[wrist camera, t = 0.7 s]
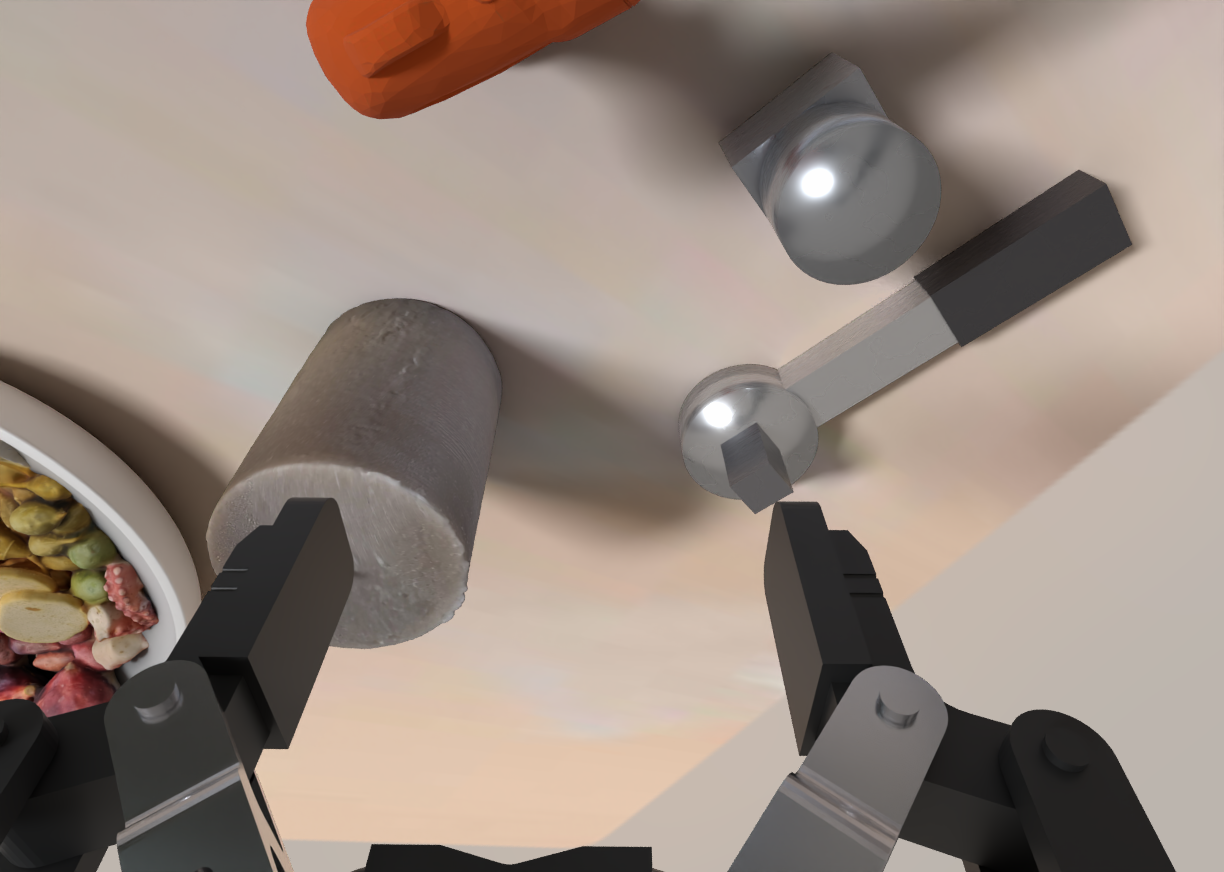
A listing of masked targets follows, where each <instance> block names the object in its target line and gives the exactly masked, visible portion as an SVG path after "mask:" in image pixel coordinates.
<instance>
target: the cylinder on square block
mask: <svg viewBox="0 0 1224 872" xmlns="http://www.w3.org/2000/svg"><path fill="white" fill-rule="evenodd" d="M719 144H720V146H721V148H722V150H723V152H724V154H725V156H726V158H727V159H728V161H729V163H730V165H731V167H732V169H733V170H734V171H735V173H736V174H737V176H738V177H739V179H740V180H741V181H742V183H743V184H744V186H745V187H746V189H747V190H748V191H749V193H750V194H751V196H752V197H753V199H754V200H755V201H756V203H757V204H758V206H759V207H760V208H761V210H762V211H763V213H764V214H765V216H766V217H767V218H768V220H769V222H770V223H771V225H772V227H773V229H774V231H775V232H776V234H777V236H778V238H779V240H780V241H781V243H782V245H783V247H784V249H785V250H786V252H787V254H788V255H789V257H790V259H791V260H792V261H793V262H794V263H795V265H796V266H797V267H798V268H800V269H801V270H802V271H803V272H804V273H806V274H808V275H809V276H811V277H813V278H815V279H817V280H819V281H823V282H826V283H831V284H837V285H851V284H859V283H864V282H868V281H871V280H874V279H877V278H879V277H882V276H884V275H886V274H888V273H890V272H891V271H893V270H895V269H896V268H898V267H899V266H900V265H902V264H903V263H904V262H906V261H907V260H908V259H909V258H910V257H911V256H912V255H913V254H914V253H915V252H916V251H917V250H918V249H919V247H920V246H921V245H922V243H923V242H924V241H925V239H926V238H927V236H928V234H929V233H930V231H931V229H932V227H933V225H934V222H935V220H936V217H937V214H938V210H939V206H940V200H941V180H940V174H939V171H938V167H937V165H936V162H935V160H934V158H933V156H932V155H931V153H930V152H929V150H928V149H927V148H926V147H925V145H924V144H923V143H922V142H921V141H919V140H918V139H917V138H916V137H914V136H913V135H911V134H910V133H909V132H907V131H906V130H904V129H903V128H901V127H900V126H898V125H897V124H895V123H894V122H892V121H891V120H889V119H888V117H887V115H886V113H885V112H884V110H883V108H882V106H881V105H880V103H879V101H878V99H877V98H876V96H875V94H874V92H873V90H872V89H871V87H870V85H869V83H868V82H867V80H866V78H865V76H864V74H863V73H862V71H861V69H860V68H859V67H858V66H856V65H854V64H852V63H850V62H849V61H847V60H845V59H843V58H841V57H840V56H838V55H836V54H834V53H830V54H829V55H828V56H827V57H825V58H824V59H823V60H822V61H820V62H819V63H818V64H817V65H815V66H814V67H813V68H812V69H810V70H809V71H808V72H807V73H805V74H804V75H803V76H802V77H800V78H799V79H798V80H797V81H795V82H794V83H793V84H792V85H790V86H789V87H788V88H787V89H785V90H784V91H783V92H782V93H780V94H779V95H778V96H777V97H775V98H774V99H773V100H772V101H770V102H769V103H768V104H767V105H765V106H764V107H763V108H762V109H761V110H759V111H758V112H757V113H756V114H754V115H753V116H752V117H751V118H749V119H748V120H747V121H746V122H744V123H743V124H742V125H741V126H739V127H738V128H737V129H736V130H734V131H733V132H732V133H731V134H729V135H728V136H727V137H726V138H724V139H723V140H722V141H721V142H719Z"/></svg>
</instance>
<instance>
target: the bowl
mask: <svg viewBox="0 0 1224 872" xmlns="http://www.w3.org/2000/svg"><path fill="white" fill-rule="evenodd" d="M200 604H201V592H200V586H199V581H198V576H197V573H196V569H195V565H194V563H193V560H192V557H191V554H190V552H189V550H188V547H187V545H186V543H185V541H184V539H183V537H182V535H181V533H180V531H179V529H178V528H177V526H176V524H175V523H174V521H173V520H172V518H171V516H170V515H169V513H168V512H167V511H166V509H165V508H164V506H163V505H162V504H161V502H160V501H159V500H158V498H157V497H156V496H155V495H154V493H153V492H152V491H151V490H150V489H149V487H148V486H147V485H146V484H145V483H144V482H143V481H142V480H141V479H140V477H139V476H138V475H137V474H136V473H135V472H134V471H133V470H132V469H131V468H130V467H129V466H128V465H127V464H126V463H124V462H123V461H122V460H121V459H120V458H119V457H118V456H117V455H116V454H115V453H113V452H112V451H111V450H110V449H109V448H107V447H106V446H105V445H104V444H103V443H101V442H100V441H99V440H98V439H96V438H95V437H94V436H92V435H91V434H90V433H88V432H87V431H86V430H84V429H83V428H81V427H80V426H79V425H77V424H76V423H74V422H73V421H71V420H70V419H68V418H67V417H65V416H64V415H62V414H61V413H59V412H57V411H56V410H54V409H53V408H51V407H49V406H48V405H46V404H44V403H42V402H41V401H39V400H37V399H35V398H34V397H32V396H30V395H28V394H26V393H24V392H22V391H20V390H19V389H17V388H15V387H13V386H11V385H8V384H6V383H4V382H2V381H0V701H3V700H8V699H25V700H30V701H32V702H34V703H36V704H37V705H38V706H39V707H40V708H41V710H42V711H43V712H44V714H45V715H46V716H47V717H51V716H55V715H59V714H63V713H67V712H71V711H75V710H78V709H82V708H86V707H90V706H94V705H98V704H102V703H105V702H108V701H110V699H111V698H112V696H113V695H114V694H115V692H116V691H117V690H118V689H119V688H120V687H121V686H122V685H123V684H124V683H125V682H126V681H128V680H129V679H130V678H131V677H133V676H134V675H136V674H137V673H139V672H141V671H143V670H145V669H147V668H149V667H151V666H154V665H156V664H159V663H163V662H165V661H166V660H167V658H168V657H169V655H170V654H171V652H172V650H173V649H174V647H175V645H176V644H177V642H178V640H179V639H180V637H181V635H182V634H183V632H184V630H185V629H186V627H187V625H188V624H189V622H190V621H191V619H192V617H193V616H194V614H195V612H196V611H197V609H198V607H199V606H200Z"/></svg>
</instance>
